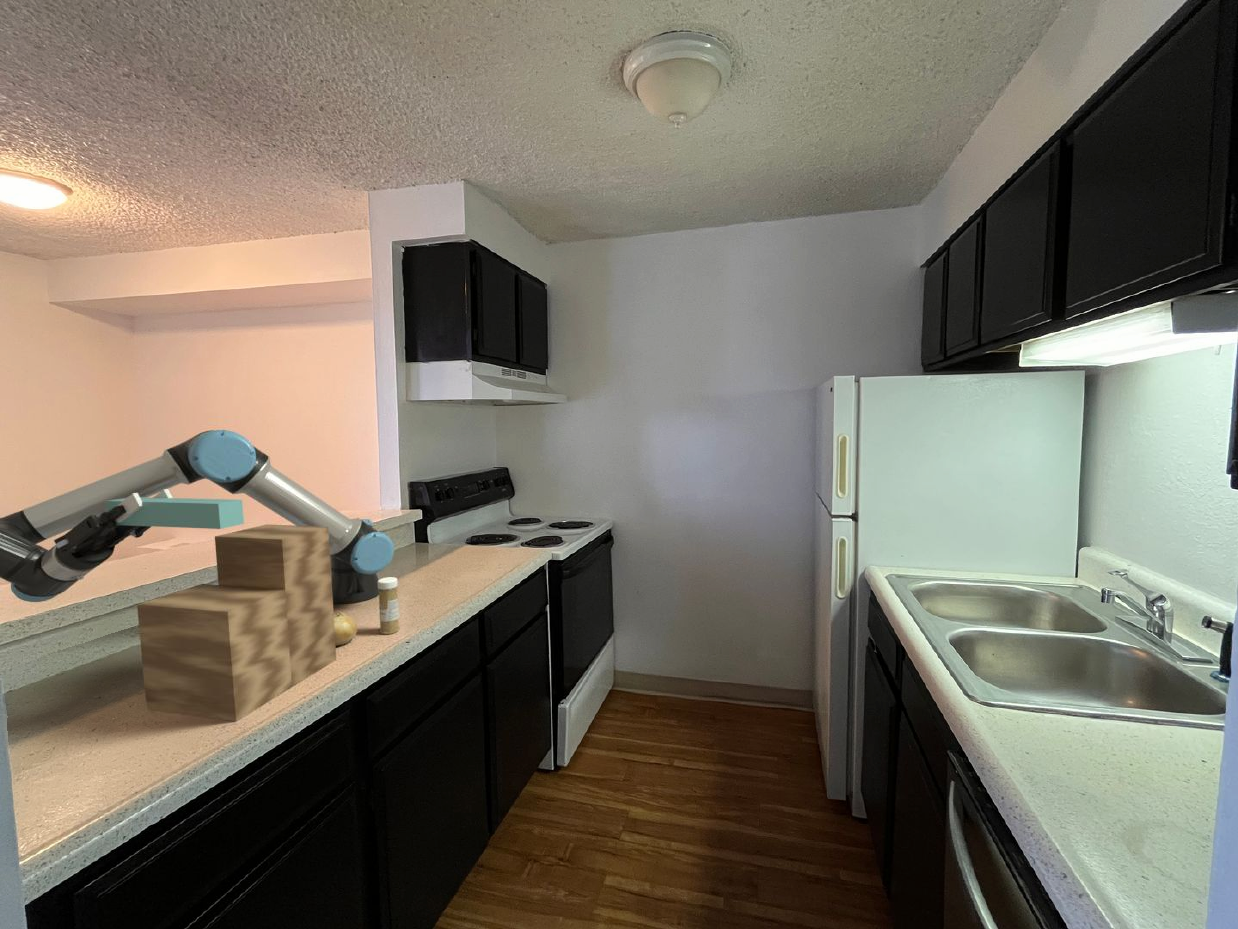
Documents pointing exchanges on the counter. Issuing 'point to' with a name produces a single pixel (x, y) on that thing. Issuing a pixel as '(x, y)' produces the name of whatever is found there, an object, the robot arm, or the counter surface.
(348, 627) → the onion
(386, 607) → the sprinkles bottle
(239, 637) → the wooden step block
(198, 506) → the slim box
